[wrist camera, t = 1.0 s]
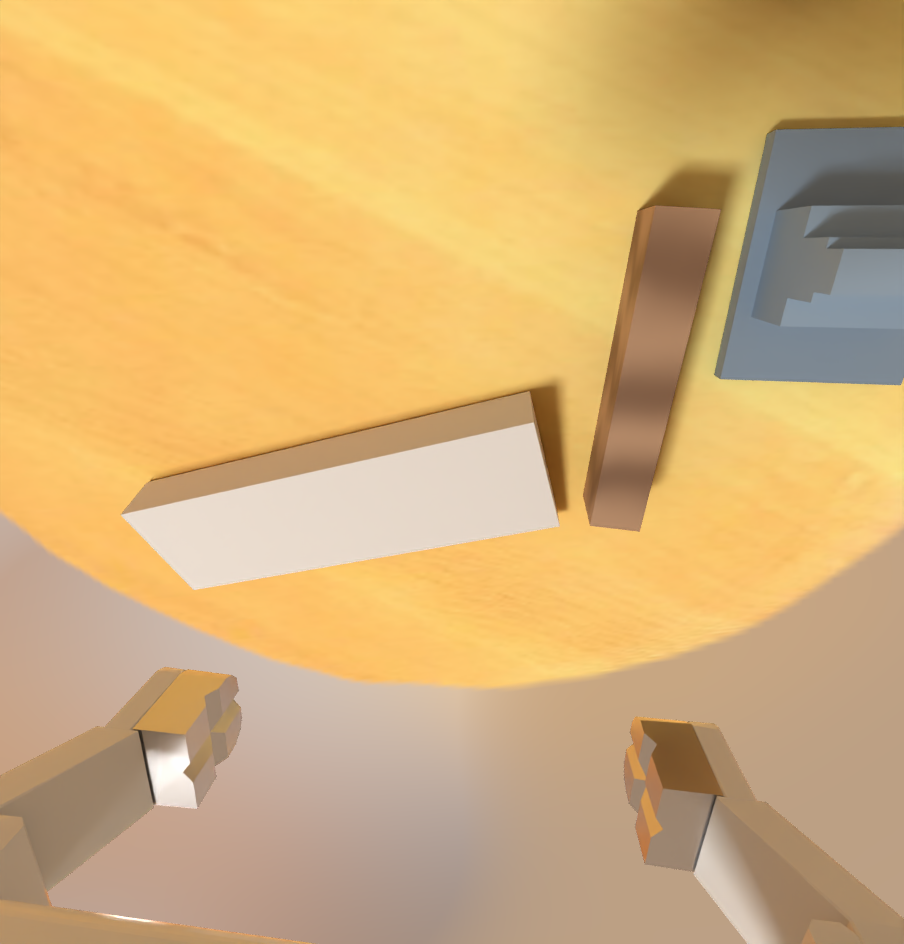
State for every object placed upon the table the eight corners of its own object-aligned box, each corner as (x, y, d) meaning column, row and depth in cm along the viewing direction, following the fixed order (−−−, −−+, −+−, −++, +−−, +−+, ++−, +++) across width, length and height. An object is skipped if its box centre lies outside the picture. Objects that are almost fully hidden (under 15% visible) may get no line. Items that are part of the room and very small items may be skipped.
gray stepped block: (767, 134, 29) (864, 88, 21) (979, 129, 28) (1175, 79, 19) (714, 374, 35) (773, 415, 26) (888, 380, 33) (1009, 425, 25)
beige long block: (553, 486, 43) (529, 386, 37) (559, 526, 39) (533, 422, 33) (215, 551, 51) (150, 477, 45) (193, 589, 47) (120, 514, 41)
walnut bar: (636, 211, 32) (655, 205, 27) (692, 214, 31) (721, 209, 27) (582, 494, 40) (590, 525, 35) (626, 498, 40) (639, 531, 35)
